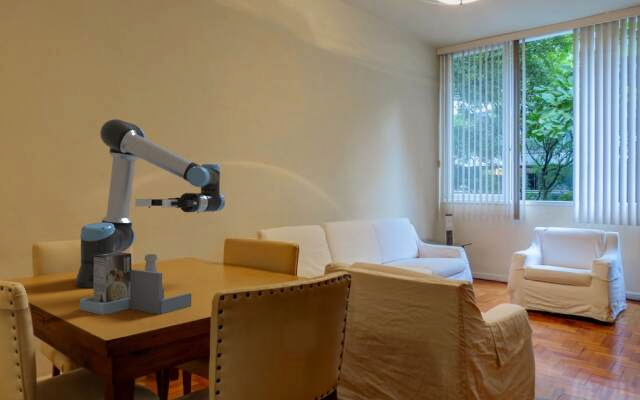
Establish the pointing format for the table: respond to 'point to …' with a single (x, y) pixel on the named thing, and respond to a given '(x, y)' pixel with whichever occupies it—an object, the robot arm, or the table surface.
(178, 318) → the table surface
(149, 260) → the salt shaker
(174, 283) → the table surface
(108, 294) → the coffee box
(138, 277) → the bracket
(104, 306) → the tray
